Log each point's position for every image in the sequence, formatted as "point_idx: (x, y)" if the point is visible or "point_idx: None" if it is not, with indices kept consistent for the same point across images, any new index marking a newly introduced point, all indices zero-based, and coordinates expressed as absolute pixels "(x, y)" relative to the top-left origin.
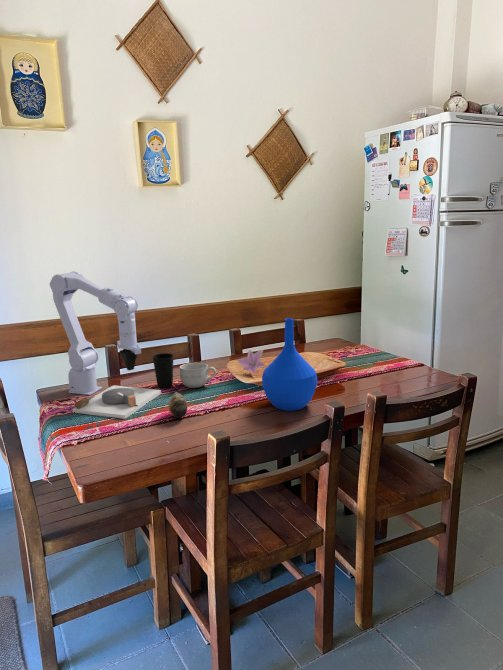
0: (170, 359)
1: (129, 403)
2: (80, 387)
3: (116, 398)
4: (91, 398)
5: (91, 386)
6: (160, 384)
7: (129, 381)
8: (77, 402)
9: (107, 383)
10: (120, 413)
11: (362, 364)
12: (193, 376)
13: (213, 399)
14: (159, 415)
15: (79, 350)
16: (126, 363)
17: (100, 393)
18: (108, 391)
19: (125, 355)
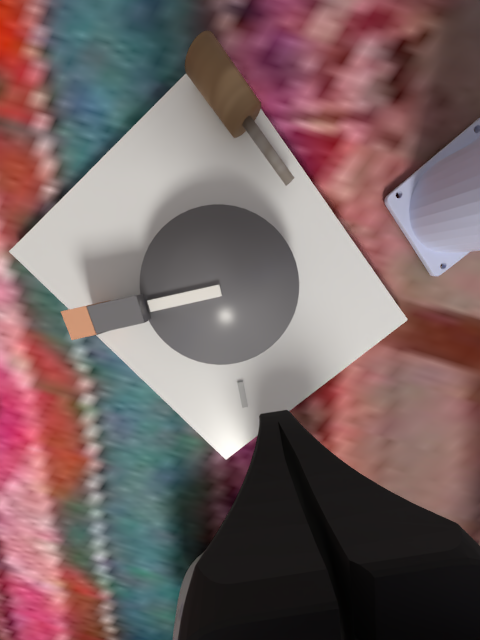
0: None
1: (95, 303)
2: (457, 151)
3: (153, 261)
4: (269, 162)
5: (430, 210)
6: None
7: (430, 394)
8: (196, 38)
9: (473, 312)
10: (40, 241)
11: None
12: (178, 617)
13: (72, 562)
14: (3, 376)
15: None
16: (274, 446)
17: (343, 238)
18: (278, 256)
19: (199, 561)
